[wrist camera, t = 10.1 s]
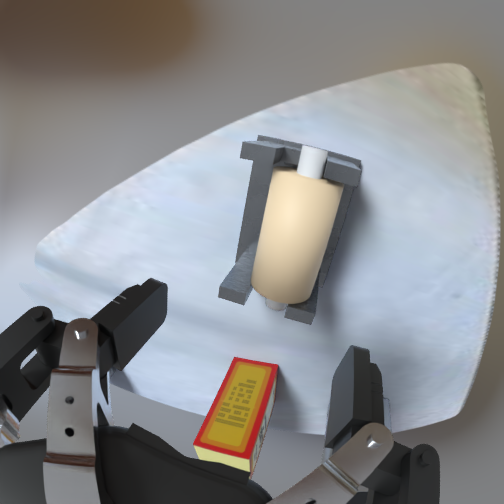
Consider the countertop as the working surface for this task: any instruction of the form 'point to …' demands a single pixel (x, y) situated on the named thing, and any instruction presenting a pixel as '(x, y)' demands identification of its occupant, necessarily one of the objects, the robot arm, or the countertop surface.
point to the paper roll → (295, 230)
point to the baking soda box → (239, 415)
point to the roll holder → (264, 160)
